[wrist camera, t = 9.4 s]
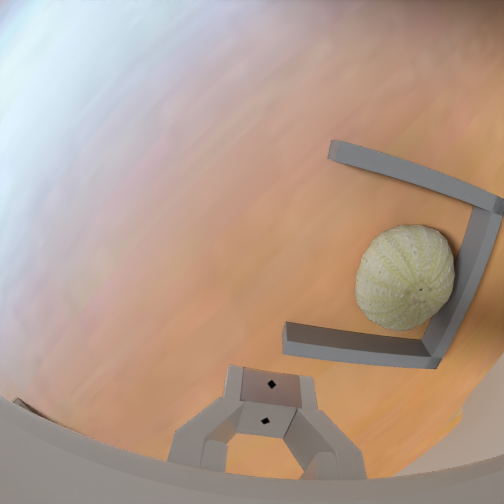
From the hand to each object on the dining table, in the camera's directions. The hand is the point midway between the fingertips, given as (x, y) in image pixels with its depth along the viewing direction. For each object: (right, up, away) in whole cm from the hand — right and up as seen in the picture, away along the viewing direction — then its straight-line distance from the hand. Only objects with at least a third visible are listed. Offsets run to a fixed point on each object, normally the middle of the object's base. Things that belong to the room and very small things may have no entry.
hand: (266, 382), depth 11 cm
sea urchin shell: (+13, +3, +16) cm, 21 cm away
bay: (+12, +4, +16) cm, 20 cm away
